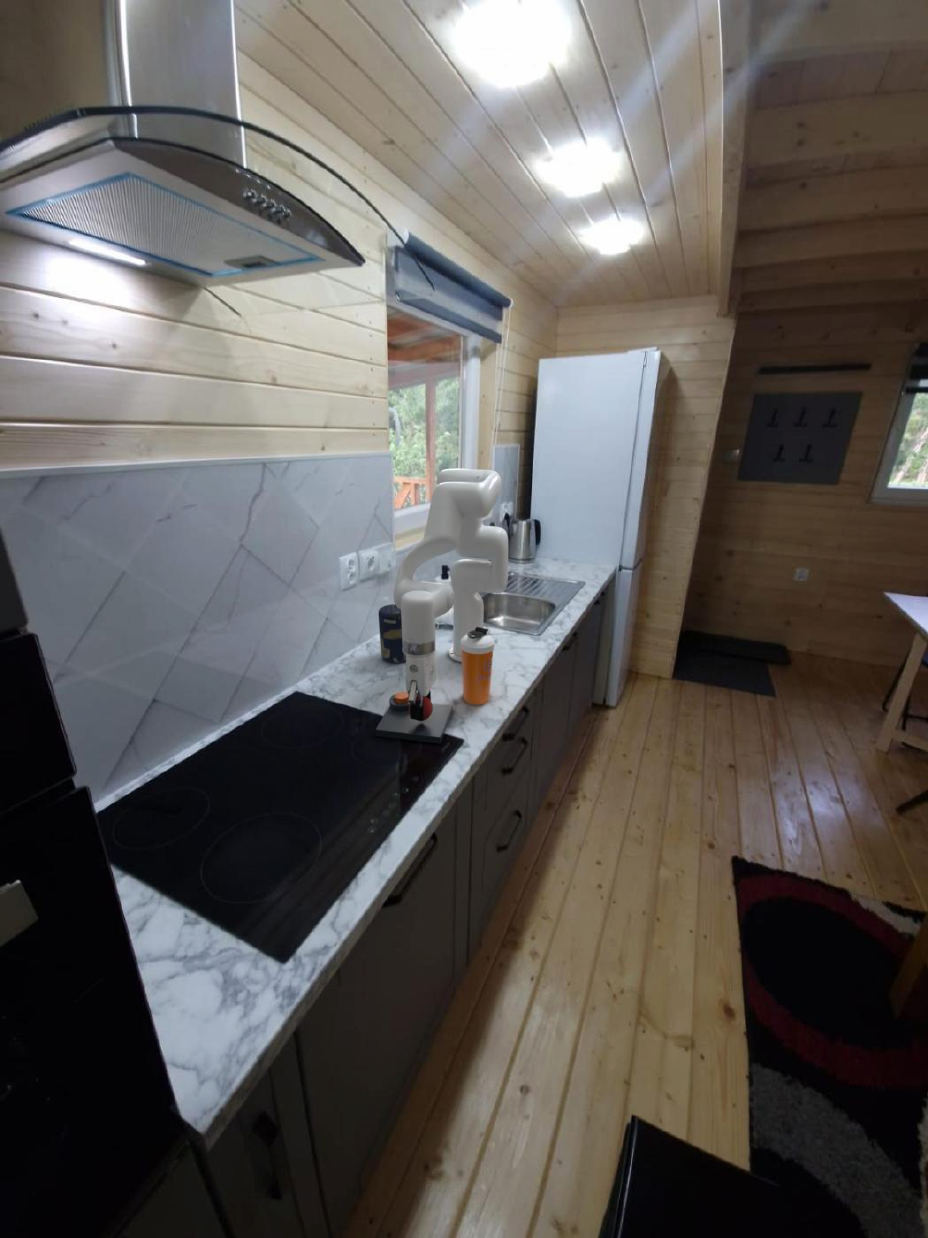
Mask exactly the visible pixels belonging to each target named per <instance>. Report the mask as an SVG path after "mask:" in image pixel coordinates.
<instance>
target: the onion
mask: <svg viewBox="0 0 928 1238" xmlns="http://www.w3.org/2000/svg"><path fill="white" fill-rule="evenodd" d="M416 699H417V700H419V696H416ZM432 704H433V701H432V699H431V700H430V699H429V698H427V697H426V696H423V701H422V705H424V719H423V720H417V721H420V722H422V721H424V720H426V719H427V718H429V717H430V715H431V714H432V711H433V706H432ZM409 713H410V704H409Z"/></svg>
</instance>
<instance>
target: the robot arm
mask: <svg viewBox="0 0 928 1238" xmlns="http://www.w3.org/2000/svg"><path fill="white" fill-rule="evenodd" d="M502 483H503V482H502V479H501V476H500V473H498V472H497V471H495V470H492V469H473V468H471V469H470V468H446V469H443V470H441V471H439V472H438V474H437V477H436V486H435V488H434V489H433V491H432V496H431V501H430V504H429V510H428V515H427V520H426V526H425V530H424V534H423V538H422V539H421V540H420V541H419V542H418V543H416V544H415V545H414V546H413V547H412V548H411V549H410V550H409V551H408V552H407V553H406V555H405V556H404V557H403V559H402V561H401V562H400V564H399V566H398V570H397V573H396V579H395V583H394V588H393V602H394V604H395V605H396V606H397V607H398V608H399V609H401V618H402V641H403V653H404V654H405V655H406V660H405V689H406V691H405V692H407V694H408V695H409V703H410V718H411V719H414V720H423V719H424V705H422V701H423V696H426V697H427V698H429V699H430V700H431V701H432V690H431V689H432V687H433V686H434V683H435V681H436V677H437V676H436V675H437V673H436V659H435V658H436V657H435V652H436V628H435V627H436V623H435V618H437V617H440V616H442V615H444V614H446V613H447V612H448V611H449V610H450V609H451V608H453V626H452V628H453V631H452V632H453V633H452V636H453V638H452V639H453V641H452V642H453V644H452V646H451V647H450V648H449V649H448V656H449V658H451V659H452V660H453V661H455V662H459V663H462V649H461V639H462V638H463V636H465V635H466V634H468V633H469V632H471V631H473V630H474V629H475V627H480V628H484V617H485V616H484V614H485V613H484V612H485V611H484V610H485V604H484V601H483V598H482V596H481V595H480V593H485V594H502V593H504V592H505V591H506V589H507V586H508V581H509V535H508V533H507V531H506V530H505V529H504V528H503V527H500V526H494V525H484V523H483V522H484V521H483V519H484V518H486V517H487V516H488V515H489V514H490V513H491V511H492V510H493V508H494V506H495V505H496V503H497V502H498V501H499V498H500V496H501V493H502V489H503V488H502V486H503V485H502ZM454 550H455V553H456V555H458V556H460V557H463V558H464V559H458V560H455V561H454V562H453V563H452V565H451V567H450V571H449V572H450V573H449V575H450V584H451V585H449V584H447V583H442V582H436V581H435V582H434V581H425V580H417V579H416V580H415V579H413V578H414V575H415V574H416V571H417V570H418V569H419V567H420V566H422V565H423V564H424V563H426V562H428V561H430V560H432V559H434V558H436V557H439V556H442V555H446V554H448V553H450V552H453V551H454ZM469 558H470V559H469ZM416 696H419V700H417V699H416Z"/></svg>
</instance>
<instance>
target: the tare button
mask: <svg viewBox="0 0 928 1238" xmlns="http://www.w3.org/2000/svg"><path fill="white" fill-rule="evenodd" d="M394 695H395V702H396V703H401V704H402V703H407V702H408V701H409V695H408V694H407V691H399V692H396V693H394Z"/></svg>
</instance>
